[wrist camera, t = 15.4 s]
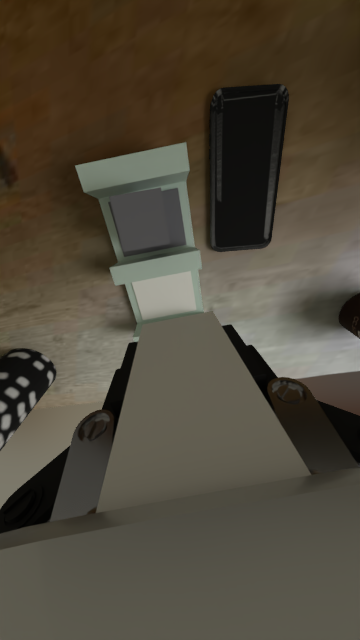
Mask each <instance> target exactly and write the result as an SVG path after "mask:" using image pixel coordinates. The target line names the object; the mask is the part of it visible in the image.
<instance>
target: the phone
mask: <svg viewBox="0 0 360 640" xmlns="http://www.w3.org/2000/svg"><path fill="white" fill-rule="evenodd" d="M288 101H289V94H288V90H287V89H286V87H285V86H284V85H282V84H272V85H257V86H242V87H227V88H221V89H219V90H218V91H216V93H215V94H214V96H213V99H212V102H211V105H210V134H209V146H210V149H209V159H210V243H211V247H212V248H213V249H214V250H215V251H217V252H225V251H237V250H249V249H260V248H265V247H266V246H268V245H269V243H270V241H271V238H272V230H273V222H274V214H275V206H276V198H277V190H278V182H279V173H280V165H281V157H282V149H283V141H284V133H285V125H286V117H287V109H288Z"/></svg>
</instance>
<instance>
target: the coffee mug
mask: <svg viewBox="0 0 360 640" xmlns="http://www.w3.org/2000/svg"><path fill="white" fill-rule="evenodd" d="M339 322H340V324H341V325H342V326H343V327H344V328H346V329H347V330H348V331H350V332H351V333H353V334H354V335H355V336H357V337H358V338H359V339H360V294H357V295H355V296H354V297H352V298H350V299H349V300H348V301H347V302H346V303H345V304H344V305H343V307H342V308H341V311H340V313H339Z"/></svg>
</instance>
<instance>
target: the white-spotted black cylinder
mask: <svg viewBox="0 0 360 640" xmlns="http://www.w3.org/2000/svg"><path fill="white" fill-rule="evenodd" d="M55 378H56V369H55V367H54V365H53V363H52V362H51V361H50V360H49V359H48V358H47V357H46V356H44V355H43V354H41V353H39V352H37V351H34V350H30V349H14V350H11V351H9V352H8V353H6V354H5V355H4V356H2V357H1V358H0V450H1V449H2V448H3V447H4V446H5V444H6V443H7V441H8V440H9V439H10V438H11V436H12V435H13V434H14V432H15V431H16V430H17V428H18V427H19V426H20V425H21V423H22V422H23V421H24V419H25V418H26V417H27V415H28V414H29V413H30V411H31V410H32V409H33V408H34V406H35V405H36V404H37V402H38V401H39V400H40V398H41V397H42V396H43V394H44V393H45V392H46V391H47V389H48V388H49V387H50V385H51V384H52V383H53V381H54V380H55Z"/></svg>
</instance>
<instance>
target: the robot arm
mask: <svg viewBox="0 0 360 640" xmlns="http://www.w3.org/2000/svg"><path fill="white" fill-rule="evenodd" d="M222 328H223V329H224V331H225V333H226V334H227V336H228V338H229V339H230V341H231V343H232V344H233V346H234V347H235V349H236V351H237V352H238V354H239V356H240V357H241V359H242V361H243V362H244V364H245V366H246V367H247V369H248V371H249V372H250V374H251V376H252V377H253V379H254V381H255V382H256V384H257V386H258V387H259V389H260V391H261V392H262V394H263V395H264V397H265V399H266V400H267V402H268V404H269V405H270V407H271V409H272V410H273V412H274V414H275V415H276V417H277V419H278V420H279V422H280V424H281V425H282V427H283V429H284V430H285V432H286V434H287V435H288V437H289V438H290V440H291V442H292V443H293V445H294V447H295V448H296V450H297V452H298V453H299V455H300V457H301V458H302V460H303V462H304V463H305V465H306V467H307V468H308V470H309V472H310V473H311V475H308V476H303V477H297V478H291V479H285V480H279V481H273V482H268V483H262V484H256V485H250V486H244V487H239V488H233V489H227V490H222V491H216V492H210V493H205V494H199V495H193V496H188V497H182V498H176V499H171V500H165V501H160V502H154V503H148V504H143V505H138V506H132V507H127V508H121V509H116V510H110V511H105V512H99V513H96V510H97V506H98V502H99V498H100V494H101V490H102V486H103V482H104V478H105V474H106V470H107V466H108V462H109V458H110V454H111V450H112V446H113V442H114V437H115V433H116V429H117V425H118V421H119V417H120V413H121V409H122V405H123V401H124V397H125V393H126V389H127V385H128V381H129V377H130V373H131V369H132V365H133V361H134V357H135V353H136V349H137V344H138V341H137V342H132V343H129V344H128V347H127V350H126V353H125V357H124V360H123V363H122V366H121V369H117V370H116V371H115V374H114V377H113V379H112V382H111V385H110V388H109V391H108V393H107V396H106V399H105V402H104V405H103V407H102V410H97V411H95V412H92V413H90V414H89V415H88V416H86V417H85V418H84V419H83V420H82V421H81V422H80V423H79V424H78V426H77V427H76V429H75V432H74V434H73V438H72V441H71V445H70V446H69V447H68V448H67V449H65V450H64V451H63V452H62V453H61V454H60V455H58V456H57V457H56V458H55V459H53V460H52V461H51V462H50V463H49V464H47V465H46V466H45V467H44V468H43V469H42V470H40V471H39V472H38V473H37V474H36V475H35V476H33V477H32V478H31V479H30V480H28V481H27V482H26V483H25V484H24V485H22V486H21V487H20V488H19V489H18V490H17V491H15V492H14V493H13V494H12V495H11V496H10V497H9V498H8V500H7V501H6V503H5V504H4V505H3V506H2V508H1V509H0V640H360V416H358V415H356V414H353V413H350V412H348V411H345V410H342V409H339V408H337V407H334V406H331V405H328V404H326V403H323V402H320V401H318V400H316V399H315V397H314V396H313V394H312V393H311V391H310V390H309V389H308V387H307V386H306V385H304V384H303V383H301V382H299V381H297V380H295V379H291V378H286V377H280V378H278V377H277V376H276V375H275V373H274V372H273V371H272V370H271V368H270V367H269V366H268V364H267V363H266V362H265V361H264V359H263V358H262V357H261V355H260V354H259V353H258V352H257V350H256V349H255V348H254V346H252V345H247V346H246V344H245V343H244V342H243V340H242V339H241V337H240V336H239V335H238V333H237V332H236V330H235V329H234V328H233V326H232V325H225V326H222Z"/></svg>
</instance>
